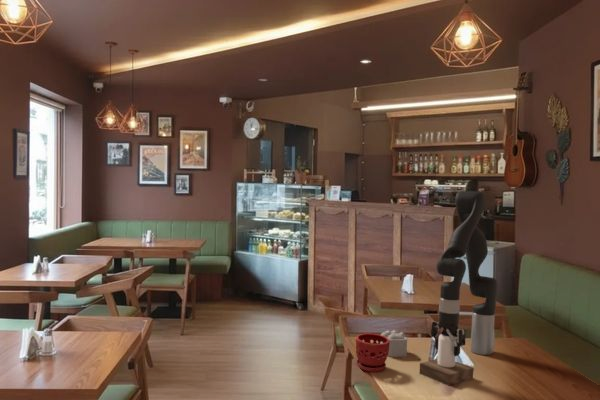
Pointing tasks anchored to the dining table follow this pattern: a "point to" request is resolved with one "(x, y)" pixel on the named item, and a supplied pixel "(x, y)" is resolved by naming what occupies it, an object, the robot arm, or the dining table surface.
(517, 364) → the dining table surface
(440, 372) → the walnut stand
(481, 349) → the robot arm
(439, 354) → the can
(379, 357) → the plant pot
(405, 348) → the lumpy-topped squat cylinder
